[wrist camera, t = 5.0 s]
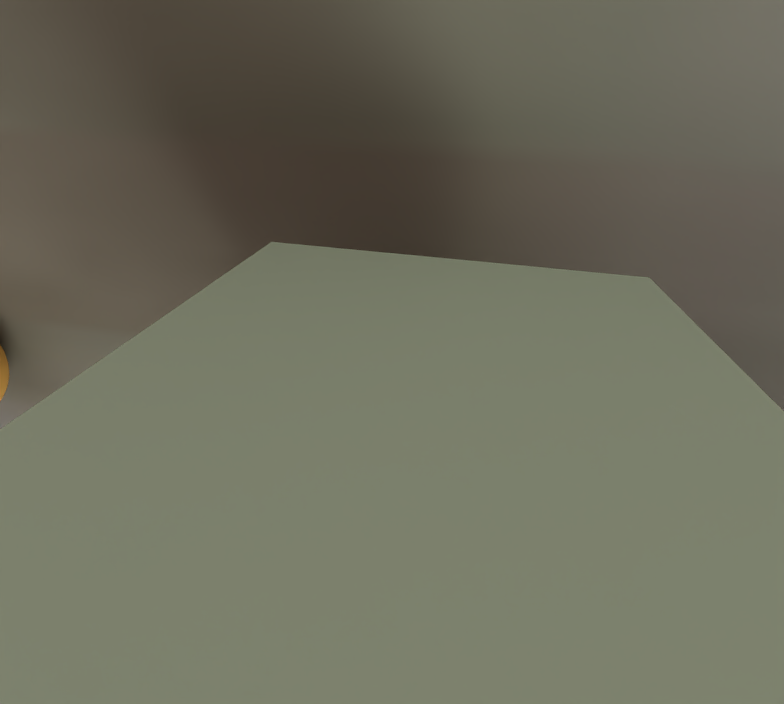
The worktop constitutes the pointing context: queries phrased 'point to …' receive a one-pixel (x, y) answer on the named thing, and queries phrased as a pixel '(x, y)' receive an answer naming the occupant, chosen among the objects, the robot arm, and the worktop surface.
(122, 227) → the worktop surface
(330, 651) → the pale green cube
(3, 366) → the ball
